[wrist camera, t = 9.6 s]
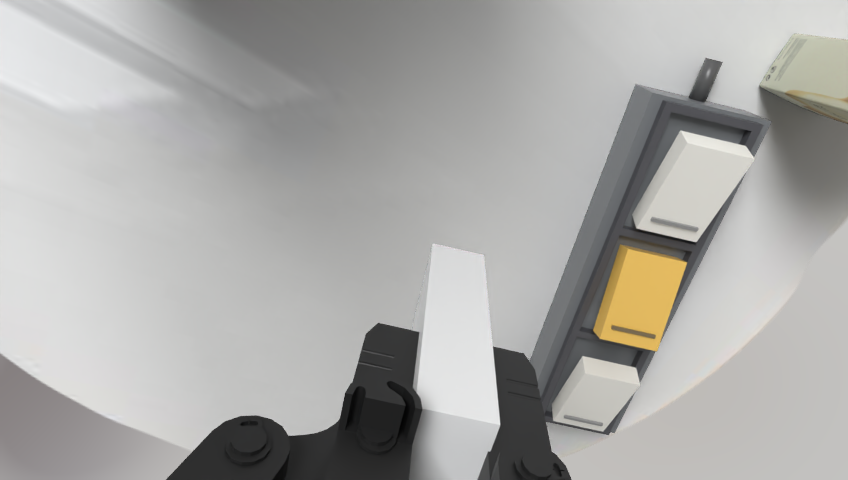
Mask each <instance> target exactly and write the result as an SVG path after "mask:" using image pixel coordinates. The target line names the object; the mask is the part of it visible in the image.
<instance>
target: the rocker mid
mask: <svg viewBox="0 0 848 480" xmlns="http://www.w3.org/2000/svg"><path fill="white" fill-rule="evenodd" d="M686 265H687V262H685V261H683V260H681V259H679V258H677V257H673V256H669V255H665V254H660V253H656V252H652V251H647V250H643V249H639V248H634V247H630V246H626V245H621V244H620V246H619V249H618V252H617V255H616V258H615V262H614V265H613V268H612V271H611V275H610V278H609V281H608V284H607V287H606V291H605V294H604V297H603V300H602V303H601V307H600V310H599V313H598V316H597V319H596V323H595V326H594V329H593V331H594V332H595V333H596V335H597V336H598V337H599V338H600V339H603V340H608V341H612V342H617V343H621V344H626V345H630V346H635V347H639V348H644V349H648V350H653V351H657V350H658V347H659V344H660V341H661V338H662V335H663V332H664V329H665V326H666V323H667V320H668V317H669V315H670V312H671V309H672V306H673V303H674V300H675V297H676V294H677V291H678V288H679V285H680V282H681V279H682V276H683V273H684V271H685V268H686Z"/></svg>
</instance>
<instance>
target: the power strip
mask: <svg viewBox="0 0 848 480" xmlns="http://www.w3.org/2000/svg"><path fill="white" fill-rule="evenodd" d="M722 63H723V62H720V61H716V60H712V59H708V58H706V59H705V61H704V63H703V66H702V68H701V70H700V73H699V75H698V77H697V80H696V82H695V84H694V87H693V89H692V91H691V94H690V96H689V97H687V96H683V95H678V94H674V93H670V92H666V91H662V90H658V89H654V88H649V87H645V86H641V85H637V84H636V85H635V87H634V90H633V93H632V95H631V98H630V101H629V103H628V106H627V108H626V111H625V114H624V116H623V119H622V121H621V124H620V127H619V129H618V132H617V135H616V137H615V140H614V142H613V145H612V148H611V150H610V153H609V155H608V158H607V161H606V163H605V166H604V169H603V171H602V174H601V176H600V179H599V182H598V184H597V187H596V189H595V192H594V195H593V197H592V200H591V202H590V205H589V208H588V210H587V213H586V216H585V218H584V221H583V223H582V226H581V229H580V231H579V234H578V236H577V239H576V242H575V244H574V247H573V250H572V252H571V255H570V257H569V260H568V263H567V265H566V268H565V270H564V273H563V276H562V278H561V281H560V284H559V286H558V289H557V291H556V294H555V297H554V299H553V302H552V304H551V307H550V310H549V312H548V315H547V317H546V320H545V323H544V325H543V328H542V331H541V333H540V336H539V338H538V341H537V344H536V346H535V349H534V351H533V354H532V357H531V359H530V363H531V364H532V366H533V367H534V369H535V372H536V377H537V382H538V389H539V392H540V397H541V401H540V402H542V406H543V411H544V416H545V421H546V422H551V423H555V424H560V425H565V426H569V427H574V428H579V429H583V430H588V431H592V432H597V433H602V434H606V435H609V433H610V432H612V433H615V431H616V429H617V427H618V425H619V423H620V421H621V419H622V417H623V415H624V413H625V411H626V409H627V407H628V405H629V403H630V401H631V399H632V397H633V395H634V394H633V395H632V396H631V398H630V399H629V400H628V401H627V403H626V404H625V405H624V406H623V408H622V409H621V410H620V411H619V413H618V414H617V415H616V416H615V418H614V419H613V420H612V421H611V423H610V424H609V425H608V426H607V428H606V429H605V430H604V431H603V432H602V431H597V430H593V429H588V428H583V427H579V426H574V425H569V424H565V423H560V422H556V421H553V413H552V403H553V401H554V400H555V398H556V397H557V395H558V394H559V392H560V390H561V389H562V387H563V386H564V384H565V383H566V381H567V379H568V378H569V376H570V375H571V373H572V372H573V370H574V369H575V367H576V365H577V364H578V362H579V361H580V359H581V358H582V356H585V357H590V358H594V359H599V360H603V361H608V362H612V363H617V364H621V365H626V366H630V367H635V368H636V369H637V373H638V378H639V382H640V381H641V379H642V377H643V375H644V373H645V371H646V369H647V367H648V366H649V364H650V362H651V360H652V358H653V356H654V354H655V352H656V351H653V350H648V349H644V348H639V347H635V346H630V345H626V344H621V343H617V342H612V341H608V340H603V339H600V338H599V337H598V336H597V335H596V333H595V332H594V331H593V329H594V326H595V323H596V319H597V316H598V313H599V310H600V307H601V303H602V300H603V297H604V294H605V291H606V287H607V284H608V281H609V278H610V275H611V271H612V268H613V265H614V262H615V258H616V255H617V252H618V249H619V246H620V244H621V245H626V246H630V247H634V248H639V249H643V250H647V251H652V252H656V253H660V254H665V255H669V256H673V257H677V258H679V259H681V260H683V261H685V262H687V265H686V268H685V271H684V273H683V276H682V279H681V282H680V285H679V288H678V291H677V294H676V297H675V300H674V303H673V306H672V309H671V312H670V315H669V317H668V320H667V323H666V326H665V329H664V332H663V335H662V338H663V336H664V334H665V332H666V330H667V328H668V326H669V324H670V322H671V320H672V318H673V316H674V314H675V312H676V310H677V308H678V306H679V304H680V302H681V300H682V298H683V296H684V294H685V292H686V290H687V288H688V286H689V284H690V282H691V280H692V278H693V276H694V275H695V273H696V271H697V269H698V267H699V265H700V263H701V261H702V259H703V257H704V255H705V253H706V251H707V249H708V247H709V245H710V243H711V241H712V239H713V237H714V235H715V233H716V231H717V229H718V227H719V225H720V223H721V221H722V219H723V217H724V215H725V213H726V211H727V209H728V207H729V205H730V203H731V201H732V199H733V197H734V195H735V193H736V191H737V189H738V187H739V185H740V184H741V182H742V180H743V178H744V176H745V174H746V173H745V174H744V176H743V177H742V179H741V180H740V181H739V183H738V184H737V186H736V187H735V188H734V190H733V191H732V193H731V194H730V195H729V197H728V198H727V200H726V201H725V203H724V204H723V205H722V207H721V208H720V210H719V211H718V212H717V214H716V215H715V217H714V218H713V220H712V221H711V222H710V224H709V225H708V227H707V228H706V229H705V231H704V232H703V234H702V235H701V236H700V238H699V239H698V241H697V242H693V241H688V240H684V239H680V238H675V237H671V236H667V235H662V234H658V233H654V232H649V231H645V230H641V229H636V226H635V222H634V219H633V216H632V214H633V212H634V210H635V208H636V207H637V205H638V203H639V201H640V200H641V198H642V196H643V195H644V193H645V191H646V189H647V188H648V186H649V184H650V182H651V181H652V179H653V177H654V175H655V174H656V172H657V170H658V168H659V167H660V165H661V163H662V162H663V160H664V158H665V156H666V155H667V153H668V151H669V149H670V148H671V146H672V144H673V142H674V141H675V139H676V137H677V135H678V134H679V132H680V130H681V131H685V132H689V133H693V134H698V135H702V136H706V137H710V138H714V139H718V140H723V141H727V142H731V143H735V144H739V145H744V146H746V147H747V148H748V150H749V151H750V153H751V154H752V156H753V157H754V156H755V154H756V152H757V150H758V148H759V146H760V144H761V142H762V140H763V138H764V136H765V134H766V132H767V130H768V128H769V126H770V124H771V122H772V121H770V120H767V119H765V118H762V117H760V116H757V115H755V114H752V113H750V112H747V111H745V110H740V109H736V108H732V107H728V106H724V105H720V104H716V103H712V102H707V101H706V99H707V96H708V94H709V92H710V90H711V87H712V85H713V83H714V81H715V78H716V76H717V74H718V72H719V69H720V67H721V65H722ZM746 172H747V171H746ZM662 338H661V340H662ZM660 342H661V341H660Z"/></svg>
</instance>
